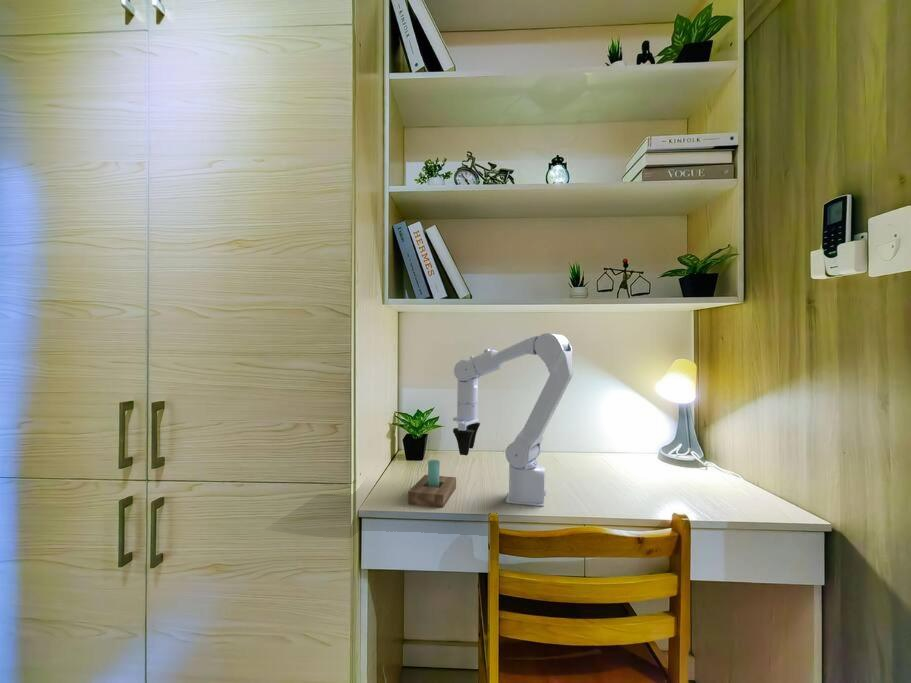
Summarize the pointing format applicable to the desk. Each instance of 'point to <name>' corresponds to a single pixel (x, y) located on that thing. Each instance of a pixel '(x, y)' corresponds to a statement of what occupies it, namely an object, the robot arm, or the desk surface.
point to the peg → (433, 473)
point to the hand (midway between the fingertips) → (466, 451)
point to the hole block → (432, 492)
